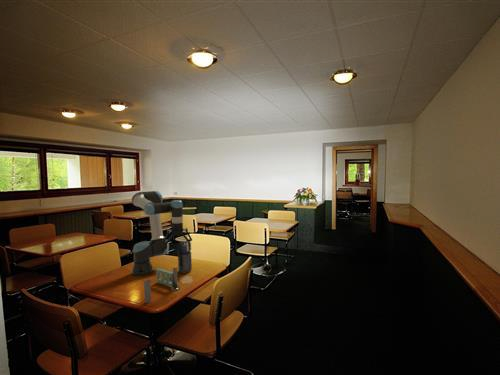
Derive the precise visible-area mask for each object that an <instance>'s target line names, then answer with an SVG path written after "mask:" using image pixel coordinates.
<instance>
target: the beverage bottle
mask: <svg viewBox="0 0 500 375" xmlns="http://www.w3.org/2000/svg"><path fill="white" fill-rule="evenodd" d="M185 240H186V239H185ZM191 250H192V241H190V246H188V251H187V240H186V241H180V242H179V243H178V244H177V252H178V253H177V262H178V263H177V266H178V267H177V272H179V273H182V274H188V273H189V272H191V271H192V266H193V265H192V251H191Z"/></svg>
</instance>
